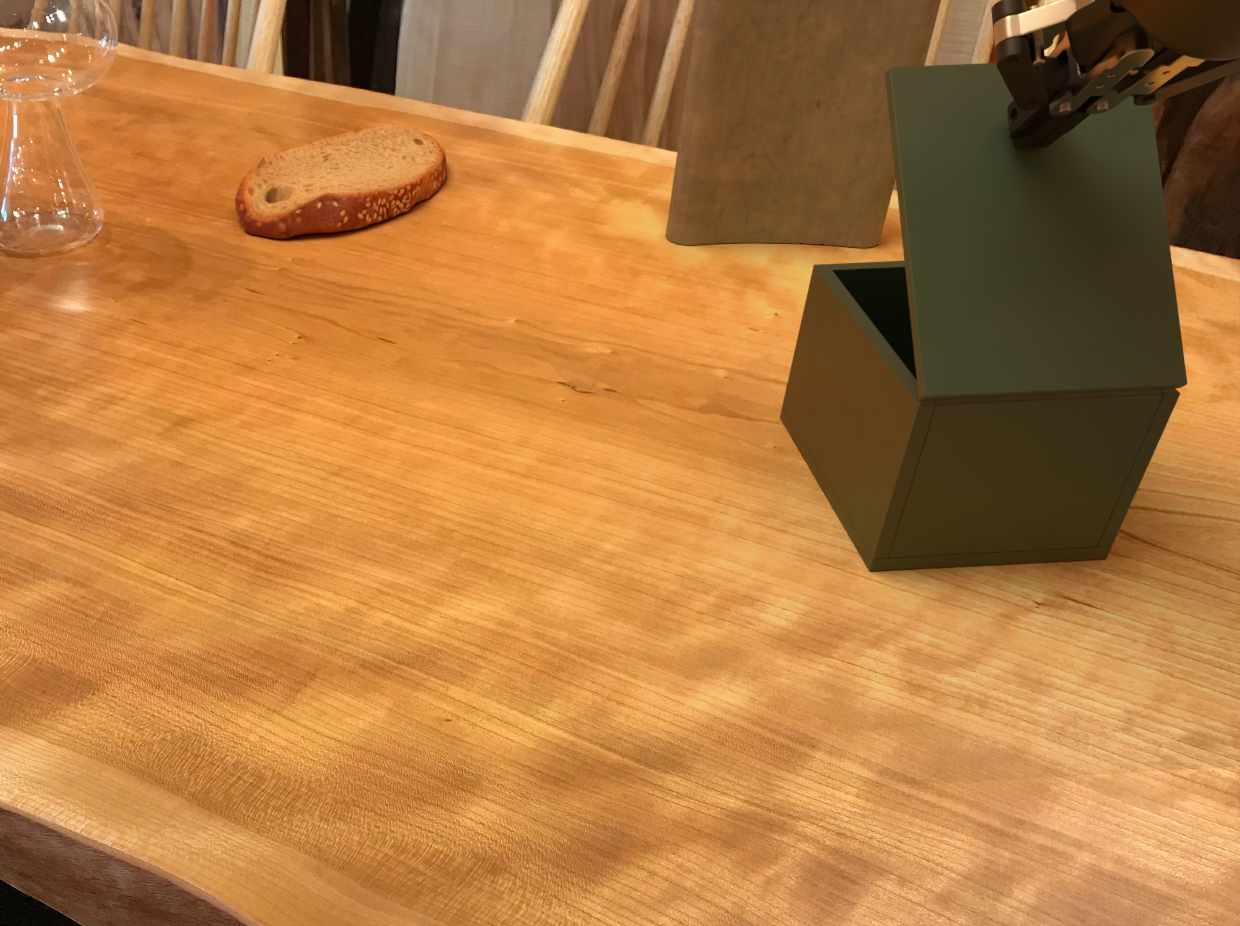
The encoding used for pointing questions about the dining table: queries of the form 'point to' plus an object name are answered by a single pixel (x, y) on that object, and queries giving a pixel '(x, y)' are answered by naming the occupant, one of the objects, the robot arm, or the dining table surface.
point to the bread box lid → (1030, 244)
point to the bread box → (953, 442)
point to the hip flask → (792, 120)
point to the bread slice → (340, 182)
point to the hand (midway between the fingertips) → (1027, 128)
